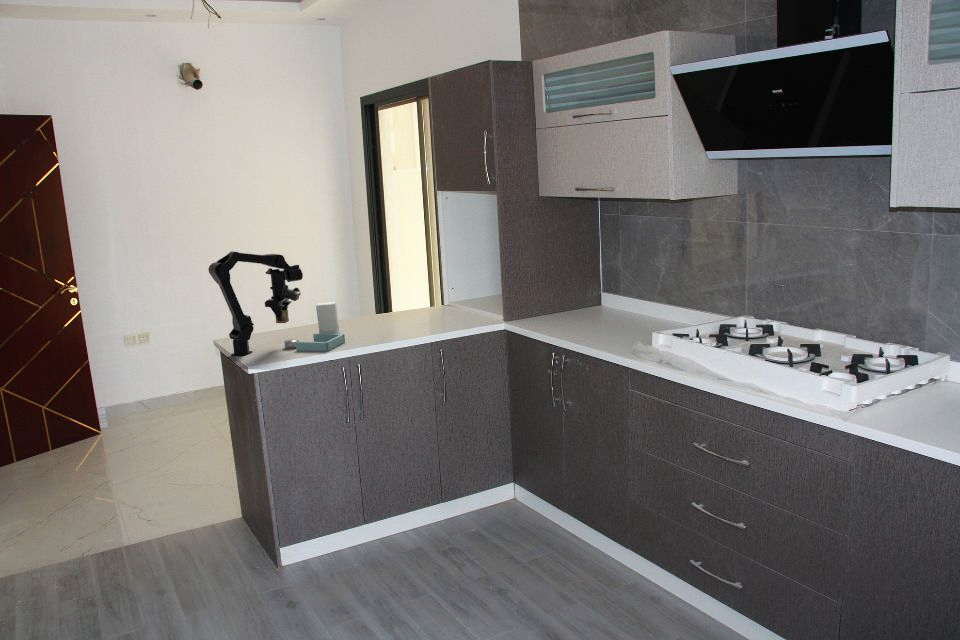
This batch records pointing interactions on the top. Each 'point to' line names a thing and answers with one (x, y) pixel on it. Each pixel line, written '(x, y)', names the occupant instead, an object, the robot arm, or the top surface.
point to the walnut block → (283, 317)
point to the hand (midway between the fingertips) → (282, 319)
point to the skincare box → (327, 318)
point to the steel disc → (290, 343)
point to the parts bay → (321, 342)
